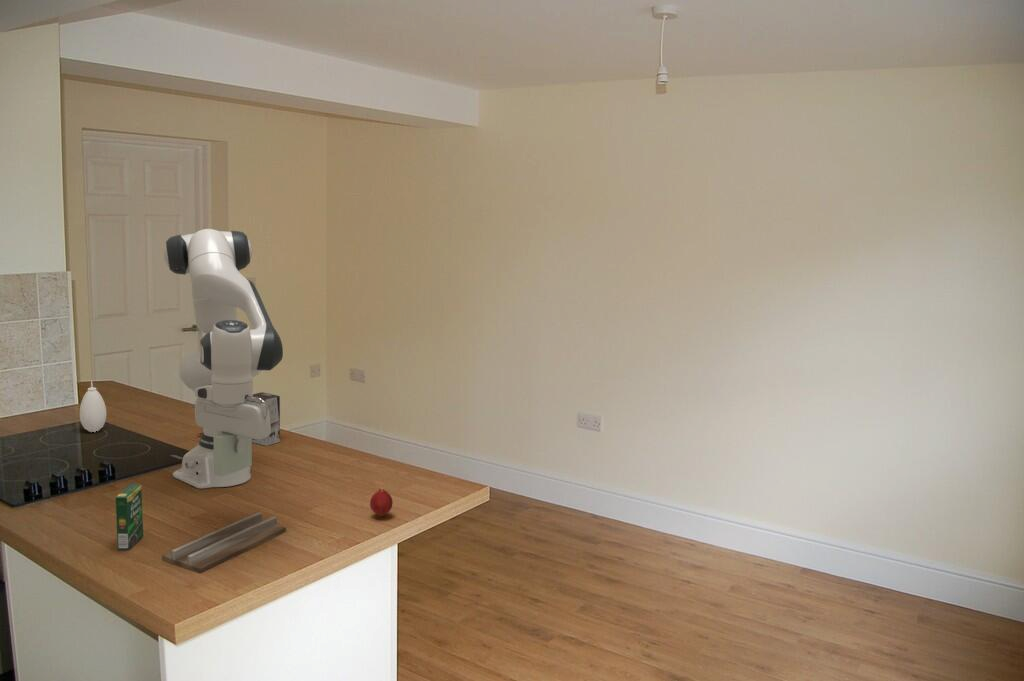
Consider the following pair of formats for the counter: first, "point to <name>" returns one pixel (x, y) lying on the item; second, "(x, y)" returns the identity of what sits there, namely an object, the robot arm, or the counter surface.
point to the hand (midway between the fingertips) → (233, 450)
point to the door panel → (230, 454)
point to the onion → (381, 502)
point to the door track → (224, 543)
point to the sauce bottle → (92, 410)
